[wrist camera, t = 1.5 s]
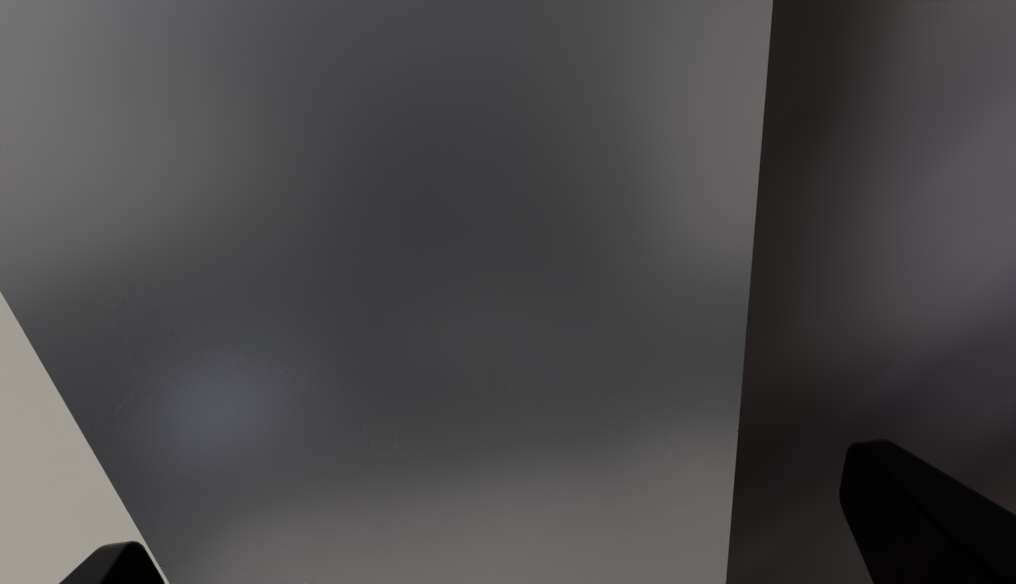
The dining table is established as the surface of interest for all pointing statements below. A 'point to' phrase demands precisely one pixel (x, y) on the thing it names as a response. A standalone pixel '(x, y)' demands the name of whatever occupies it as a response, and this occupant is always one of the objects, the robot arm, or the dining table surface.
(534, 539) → the rail
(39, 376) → the mat
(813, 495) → the dining table surface
